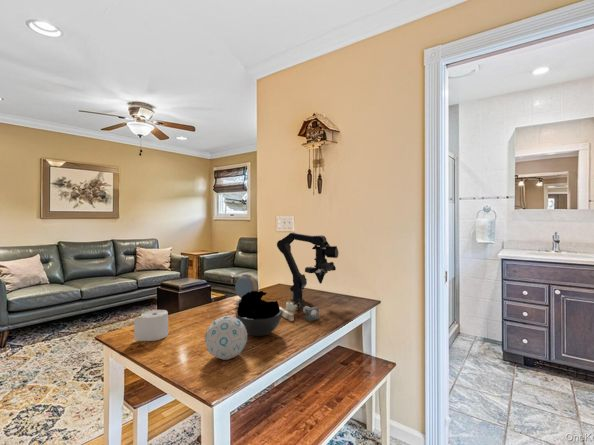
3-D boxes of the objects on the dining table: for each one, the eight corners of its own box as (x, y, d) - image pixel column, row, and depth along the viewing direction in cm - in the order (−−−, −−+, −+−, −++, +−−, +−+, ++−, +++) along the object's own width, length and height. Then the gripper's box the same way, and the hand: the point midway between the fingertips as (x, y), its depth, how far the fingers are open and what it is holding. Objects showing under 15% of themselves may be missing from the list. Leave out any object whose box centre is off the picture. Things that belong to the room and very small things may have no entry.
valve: (292, 317, 155) (304, 311, 165) (292, 304, 155) (304, 299, 165) (281, 315, 159) (294, 309, 169) (281, 302, 159) (294, 297, 169)
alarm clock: (261, 303, 180) (261, 273, 179) (250, 307, 171) (250, 276, 171) (243, 300, 187) (243, 271, 187) (232, 304, 179) (231, 274, 178)
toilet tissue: (173, 332, 136) (173, 310, 136) (155, 343, 124) (155, 319, 124) (152, 330, 138) (152, 309, 138) (133, 341, 126) (132, 317, 126)
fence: (273, 311, 165) (273, 305, 165) (276, 310, 166) (276, 305, 166) (290, 321, 150) (290, 315, 150) (293, 320, 151) (293, 314, 151)
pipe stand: (301, 317, 155) (301, 306, 155) (310, 315, 158) (310, 304, 158) (309, 321, 149) (309, 310, 148) (319, 319, 152) (319, 308, 152)
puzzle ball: (196, 360, 110) (196, 319, 109) (226, 345, 123) (226, 308, 122) (227, 371, 102) (226, 327, 101) (255, 353, 115) (255, 314, 114)
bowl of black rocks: (257, 323, 147) (257, 284, 147) (291, 332, 136) (290, 290, 135) (226, 336, 131) (225, 293, 130) (260, 348, 119) (260, 301, 119)
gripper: (315, 260, 167) (315, 288, 167) (341, 257, 176) (341, 284, 177) (304, 257, 176) (304, 284, 176) (329, 255, 186) (329, 280, 186)
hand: (320, 283), depth 179 cm, fingers closed
